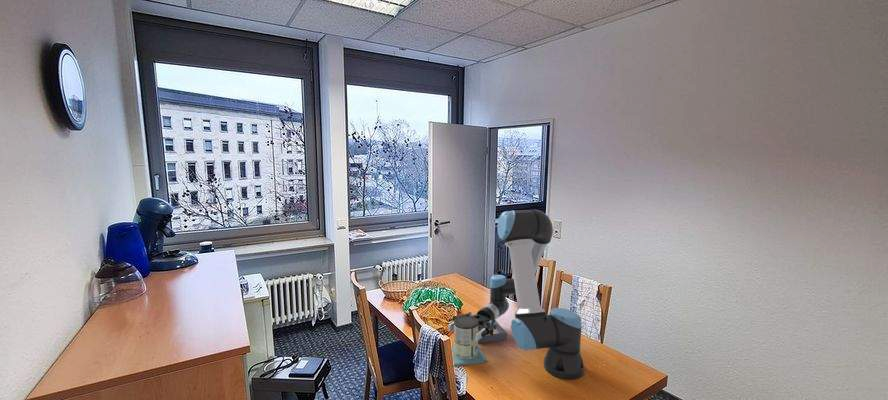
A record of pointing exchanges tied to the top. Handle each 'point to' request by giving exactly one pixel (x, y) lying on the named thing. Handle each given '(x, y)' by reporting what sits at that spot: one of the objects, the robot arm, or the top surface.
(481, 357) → the board
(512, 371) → the top surface
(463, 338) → the coffee can
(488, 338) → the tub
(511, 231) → the robot arm
